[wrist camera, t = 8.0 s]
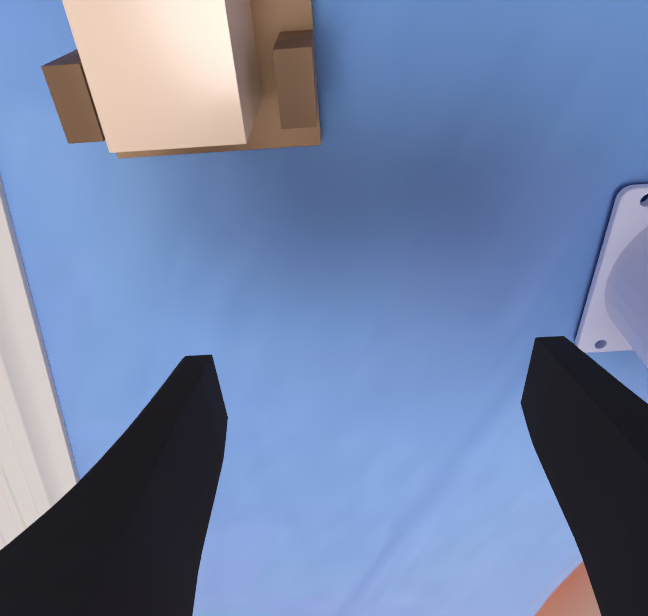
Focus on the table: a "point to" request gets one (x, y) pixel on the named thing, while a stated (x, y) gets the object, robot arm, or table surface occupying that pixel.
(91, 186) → the table surface
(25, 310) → the baseboard molding
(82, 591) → the robot arm
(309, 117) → the rack
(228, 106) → the beige rectangular block
